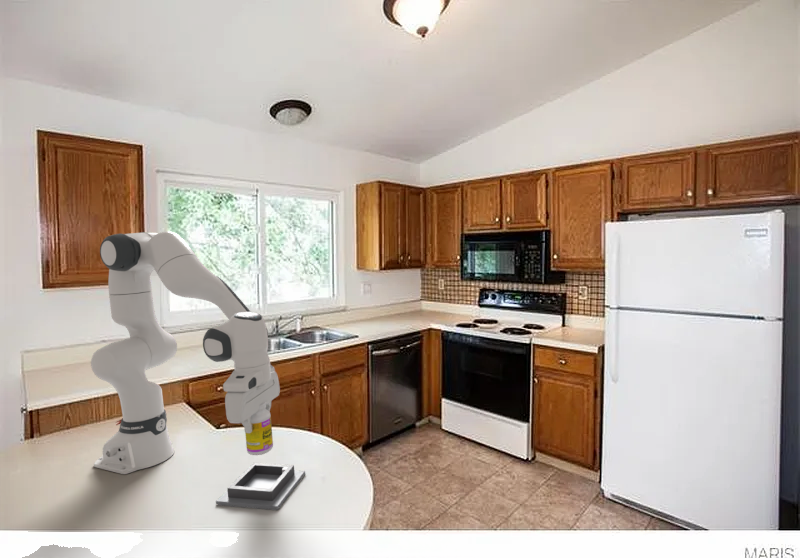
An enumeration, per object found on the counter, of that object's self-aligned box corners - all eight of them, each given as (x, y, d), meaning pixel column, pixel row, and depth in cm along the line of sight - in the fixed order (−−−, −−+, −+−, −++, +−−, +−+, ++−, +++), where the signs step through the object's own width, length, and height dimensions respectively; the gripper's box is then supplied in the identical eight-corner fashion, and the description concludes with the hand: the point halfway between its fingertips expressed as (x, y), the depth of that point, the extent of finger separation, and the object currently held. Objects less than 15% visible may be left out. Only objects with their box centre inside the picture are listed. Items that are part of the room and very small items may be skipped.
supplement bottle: (265, 457, 107) (260, 408, 106) (242, 455, 108) (237, 408, 107) (278, 444, 114) (274, 398, 112) (255, 443, 115) (251, 398, 114)
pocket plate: (216, 504, 106) (214, 491, 106) (250, 470, 122) (249, 459, 121) (277, 510, 102) (276, 496, 102) (305, 474, 118) (304, 462, 118)
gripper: (262, 362, 120) (267, 409, 121) (218, 387, 100) (224, 442, 101) (283, 362, 119) (287, 409, 120) (242, 387, 99) (247, 443, 100)
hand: (257, 425), depth 110 cm, fingers closed on supplement bottle, 7 cm apart
